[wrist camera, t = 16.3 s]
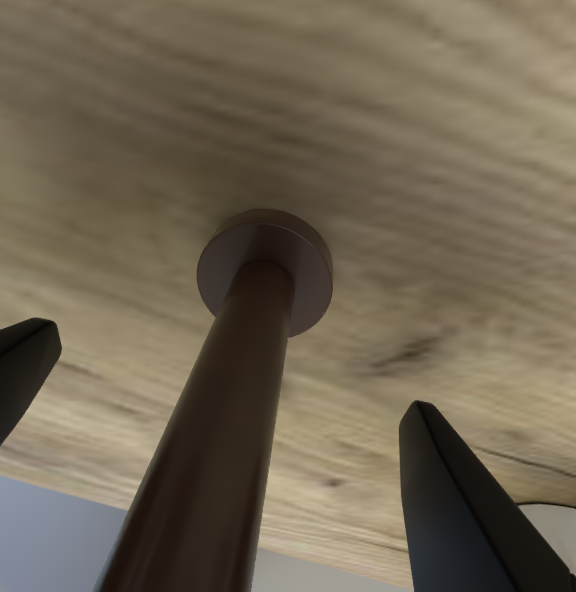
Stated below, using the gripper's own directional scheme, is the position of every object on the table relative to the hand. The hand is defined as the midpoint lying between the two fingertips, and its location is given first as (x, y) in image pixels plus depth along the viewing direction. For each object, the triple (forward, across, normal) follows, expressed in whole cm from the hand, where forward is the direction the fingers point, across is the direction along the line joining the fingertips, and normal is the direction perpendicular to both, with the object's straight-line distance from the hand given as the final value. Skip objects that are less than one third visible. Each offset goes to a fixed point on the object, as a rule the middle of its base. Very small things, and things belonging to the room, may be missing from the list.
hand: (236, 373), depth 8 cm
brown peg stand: (+5, 0, 0) cm, 5 cm away
